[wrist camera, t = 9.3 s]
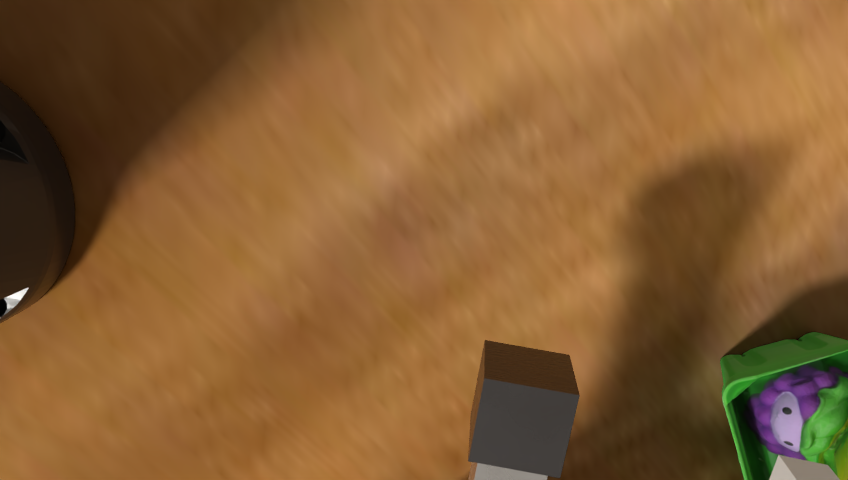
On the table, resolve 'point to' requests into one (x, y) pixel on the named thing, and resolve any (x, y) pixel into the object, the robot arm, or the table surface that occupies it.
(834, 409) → the fruit basket
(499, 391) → the shaft
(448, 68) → the table surface
